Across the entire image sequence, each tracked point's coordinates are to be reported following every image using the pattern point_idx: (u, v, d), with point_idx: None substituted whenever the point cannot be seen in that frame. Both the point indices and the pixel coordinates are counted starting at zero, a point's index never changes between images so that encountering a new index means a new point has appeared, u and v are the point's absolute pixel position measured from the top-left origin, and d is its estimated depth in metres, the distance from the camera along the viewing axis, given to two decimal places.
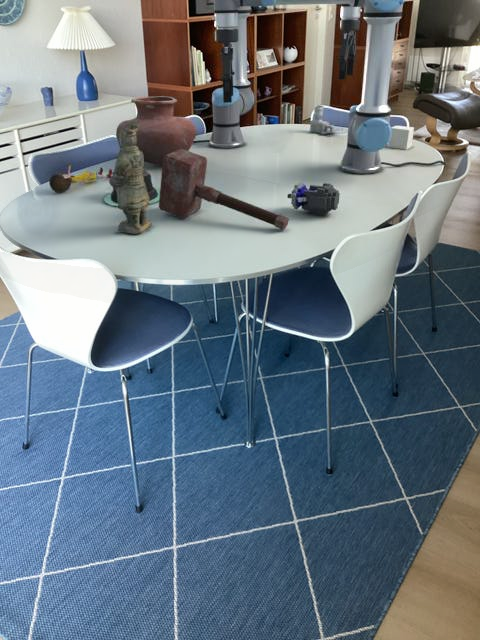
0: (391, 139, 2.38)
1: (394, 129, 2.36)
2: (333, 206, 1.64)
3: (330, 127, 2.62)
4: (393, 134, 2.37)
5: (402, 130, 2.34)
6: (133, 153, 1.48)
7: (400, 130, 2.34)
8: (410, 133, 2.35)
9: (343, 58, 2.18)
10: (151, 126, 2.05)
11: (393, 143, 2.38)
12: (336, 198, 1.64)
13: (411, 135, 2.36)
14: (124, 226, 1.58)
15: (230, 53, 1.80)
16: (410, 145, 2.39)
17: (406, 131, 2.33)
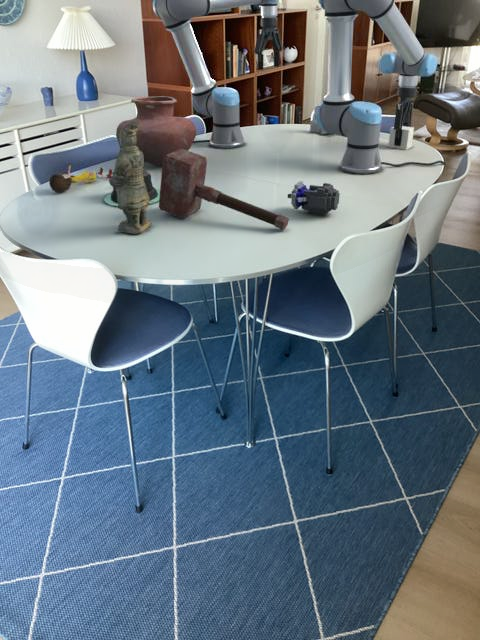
0: (391, 139, 2.38)
1: None
2: (333, 206, 1.64)
3: None
4: (393, 134, 2.37)
5: None
6: (133, 153, 1.48)
7: None
8: (410, 133, 2.35)
9: None
10: (151, 126, 2.05)
11: (393, 143, 2.38)
12: (336, 198, 1.64)
13: (411, 135, 2.36)
14: (124, 226, 1.58)
15: None
16: (410, 145, 2.39)
17: (406, 131, 2.33)
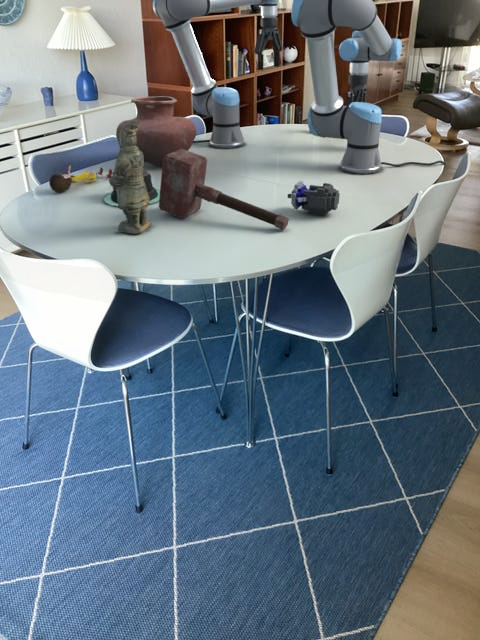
0: None
1: None
2: (333, 206, 1.64)
3: None
4: None
5: None
6: (133, 153, 1.48)
7: None
8: None
9: None
10: (151, 126, 2.05)
11: None
12: (336, 198, 1.64)
13: None
14: (124, 226, 1.58)
15: None
16: None
17: None
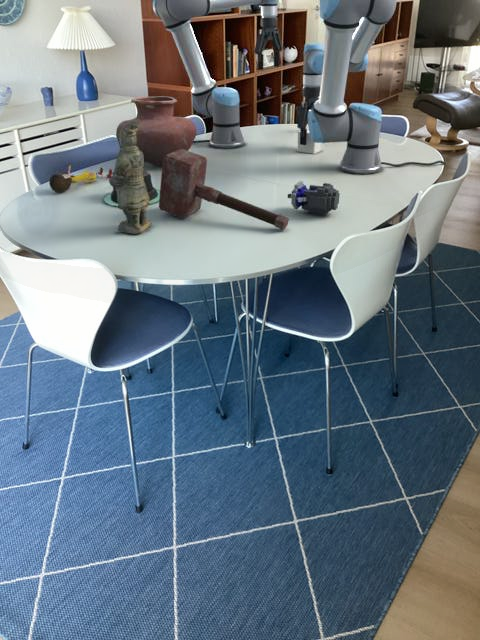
0: (299, 143, 2.35)
1: None
2: (333, 206, 1.64)
3: None
4: None
5: (309, 134, 2.31)
6: (133, 153, 1.48)
7: (307, 134, 2.31)
8: None
9: None
10: (151, 126, 2.05)
11: (301, 147, 2.35)
12: (336, 198, 1.64)
13: None
14: (124, 226, 1.58)
15: None
16: (319, 149, 2.36)
17: None
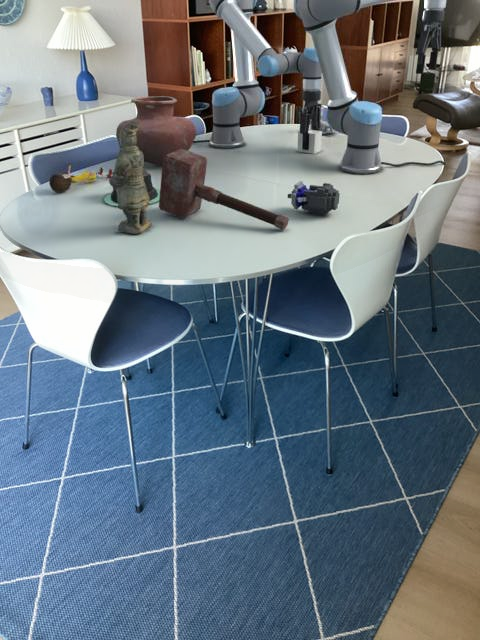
0: (299, 143, 2.35)
1: None
2: (333, 206, 1.64)
3: (330, 127, 2.62)
4: (301, 137, 2.34)
5: (309, 134, 2.31)
6: (133, 153, 1.48)
7: None
8: (318, 137, 2.32)
9: None
10: (151, 126, 2.05)
11: (301, 147, 2.35)
12: (336, 198, 1.64)
13: (319, 139, 2.33)
14: (124, 226, 1.58)
15: None
16: (319, 149, 2.36)
17: (312, 135, 2.30)
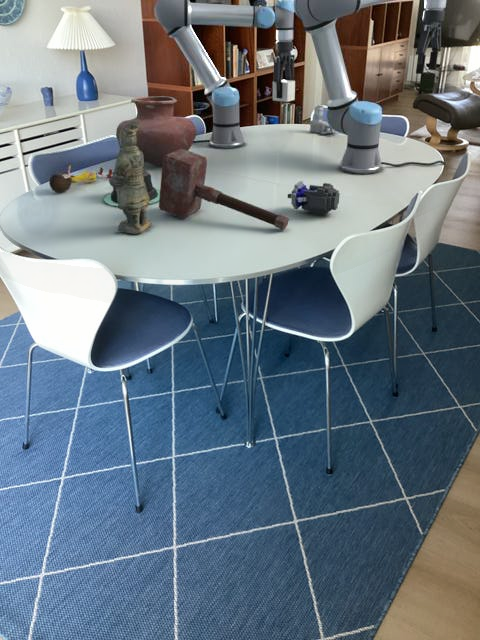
0: (274, 92, 2.53)
1: None
2: (333, 206, 1.64)
3: (330, 127, 2.62)
4: (275, 87, 2.52)
5: None
6: (133, 153, 1.48)
7: None
8: (291, 86, 2.50)
9: None
10: (151, 126, 2.05)
11: (276, 96, 2.53)
12: (336, 198, 1.64)
13: (292, 88, 2.51)
14: (124, 226, 1.58)
15: None
16: (292, 98, 2.53)
17: (285, 84, 2.48)
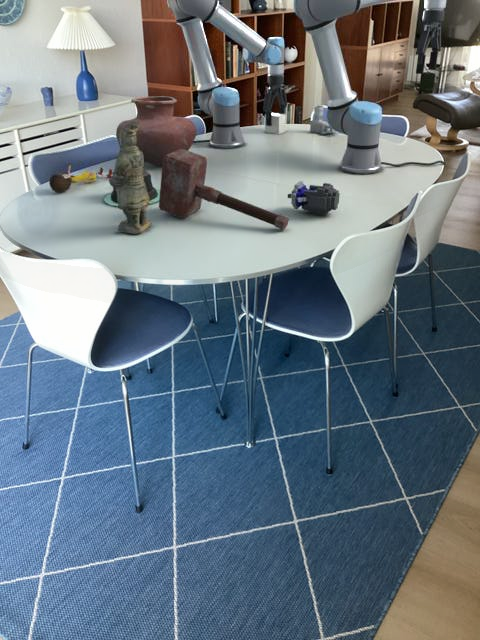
0: None
1: None
2: (333, 206, 1.64)
3: (330, 127, 2.62)
4: None
5: (274, 116, 2.65)
6: (133, 153, 1.48)
7: (272, 116, 2.66)
8: (282, 120, 2.66)
9: None
10: (151, 126, 2.05)
11: (268, 128, 2.70)
12: (336, 198, 1.64)
13: (283, 121, 2.68)
14: (124, 226, 1.58)
15: None
16: (283, 130, 2.70)
17: (277, 117, 2.64)
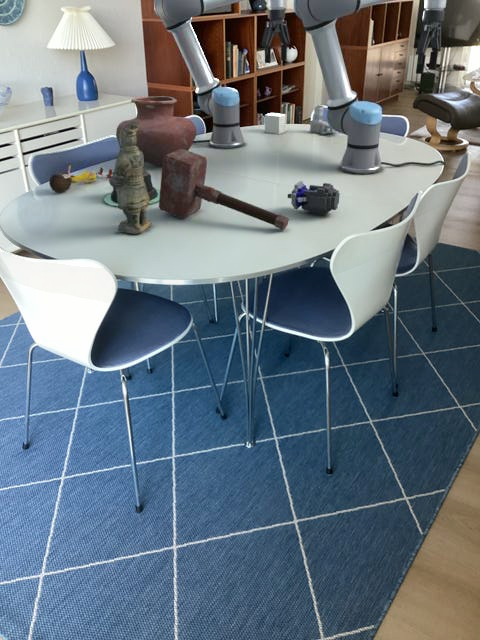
0: (266, 125, 2.69)
1: (268, 116, 2.67)
2: (333, 206, 1.64)
3: (330, 127, 2.62)
4: (267, 120, 2.68)
5: (274, 116, 2.65)
6: (133, 153, 1.48)
7: (272, 116, 2.66)
8: (282, 120, 2.66)
9: None
10: (151, 126, 2.05)
11: (268, 128, 2.70)
12: (336, 198, 1.64)
13: (283, 121, 2.68)
14: (124, 226, 1.58)
15: None
16: (283, 130, 2.70)
17: (277, 117, 2.64)
